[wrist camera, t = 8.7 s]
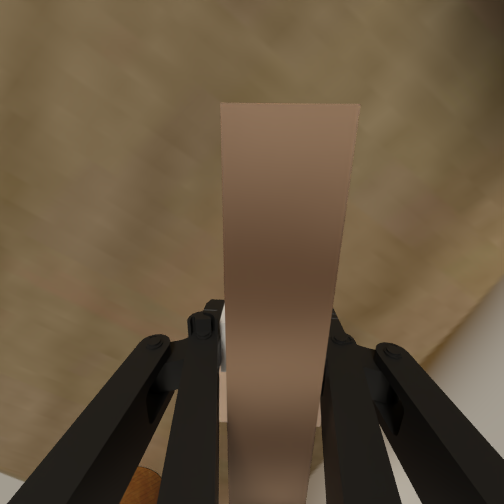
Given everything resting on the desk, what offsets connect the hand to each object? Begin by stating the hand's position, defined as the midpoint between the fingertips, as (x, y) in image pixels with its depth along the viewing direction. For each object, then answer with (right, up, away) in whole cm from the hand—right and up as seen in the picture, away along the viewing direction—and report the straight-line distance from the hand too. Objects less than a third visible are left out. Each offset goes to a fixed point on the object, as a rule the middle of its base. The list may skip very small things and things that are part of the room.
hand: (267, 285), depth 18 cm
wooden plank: (0, 0, 0) cm, 0 cm away
